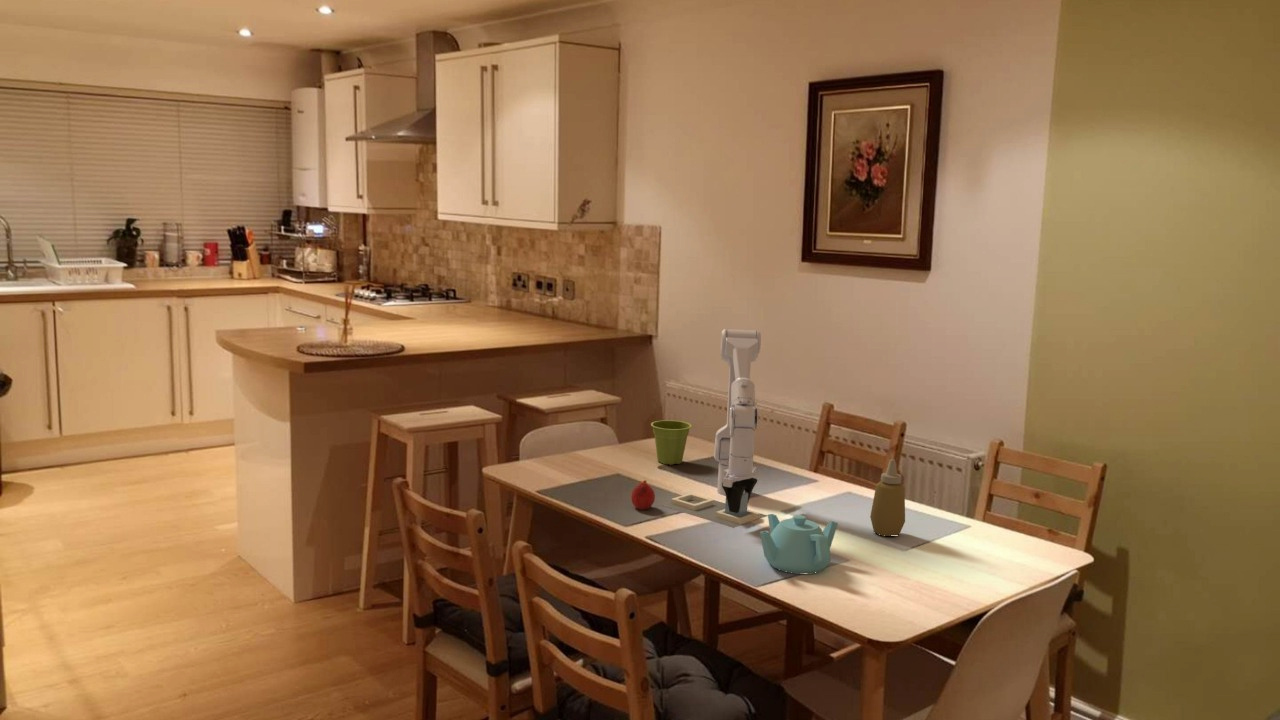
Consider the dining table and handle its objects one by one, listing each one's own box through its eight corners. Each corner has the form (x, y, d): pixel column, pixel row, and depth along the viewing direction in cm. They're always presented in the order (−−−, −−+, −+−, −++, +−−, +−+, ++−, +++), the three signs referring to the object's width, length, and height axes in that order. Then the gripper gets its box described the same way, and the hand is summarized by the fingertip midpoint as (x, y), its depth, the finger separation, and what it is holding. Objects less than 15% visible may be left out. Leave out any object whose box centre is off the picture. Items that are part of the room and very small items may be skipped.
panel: (697, 499, 261) (697, 490, 261) (767, 519, 246) (768, 510, 246) (661, 509, 251) (662, 500, 250) (733, 531, 236) (733, 522, 236)
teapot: (753, 571, 211) (756, 521, 210) (766, 548, 226) (769, 502, 224) (827, 582, 207) (831, 531, 205) (835, 558, 221) (839, 511, 220)
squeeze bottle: (905, 531, 242) (911, 458, 239) (902, 541, 235) (909, 466, 232) (871, 526, 245) (877, 454, 242) (867, 536, 237) (873, 461, 234)
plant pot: (647, 456, 302) (648, 419, 300) (686, 457, 303) (688, 420, 302) (651, 467, 290) (653, 428, 289) (692, 467, 292) (694, 429, 290)
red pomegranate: (651, 516, 245) (653, 484, 244) (628, 513, 246) (629, 482, 245) (656, 509, 250) (657, 478, 249) (633, 507, 252) (634, 475, 250)
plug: (732, 513, 247) (733, 487, 246) (746, 516, 245) (748, 490, 244) (724, 517, 243) (726, 490, 242) (739, 520, 241) (741, 493, 240)
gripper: (739, 446, 250) (735, 499, 252) (712, 457, 237) (709, 513, 239) (765, 451, 246) (762, 505, 248) (739, 462, 234) (736, 519, 236)
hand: (738, 509), depth 243 cm, fingers closed on plug, 4 cm apart
